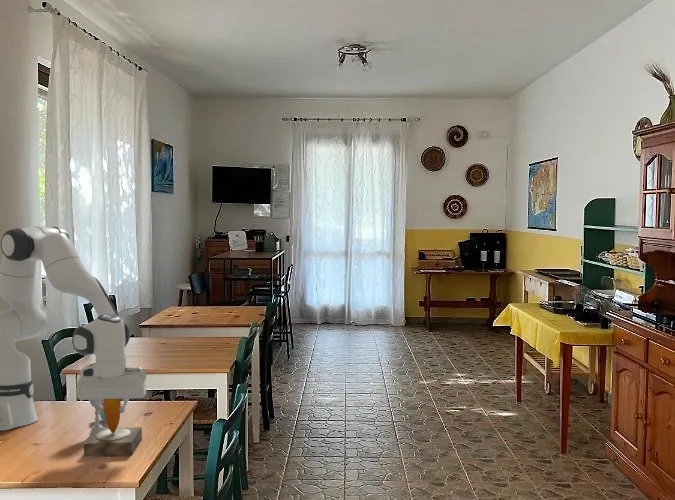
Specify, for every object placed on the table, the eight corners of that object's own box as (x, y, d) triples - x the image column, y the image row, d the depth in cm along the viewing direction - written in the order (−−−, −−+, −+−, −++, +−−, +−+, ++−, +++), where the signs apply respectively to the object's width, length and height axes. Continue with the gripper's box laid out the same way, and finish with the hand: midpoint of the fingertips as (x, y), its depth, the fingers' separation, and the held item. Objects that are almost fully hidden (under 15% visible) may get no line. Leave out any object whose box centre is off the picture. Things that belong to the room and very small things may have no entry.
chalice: (101, 437, 223) (99, 382, 222) (82, 436, 225) (79, 381, 224) (112, 430, 230) (111, 376, 229) (94, 429, 232) (92, 375, 231)
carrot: (105, 436, 210) (104, 387, 209) (103, 432, 214) (102, 384, 213) (122, 434, 212) (121, 385, 211) (120, 429, 216) (119, 382, 215)
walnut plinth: (83, 457, 206) (83, 442, 206) (97, 441, 220) (96, 427, 219) (131, 455, 207) (131, 440, 206) (142, 439, 221) (141, 425, 220)
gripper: (147, 364, 215) (149, 408, 216) (80, 366, 214) (82, 410, 215) (143, 369, 209) (144, 414, 210) (74, 371, 208) (75, 416, 209)
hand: (112, 412), depth 213 cm, fingers closed on carrot, 4 cm apart
